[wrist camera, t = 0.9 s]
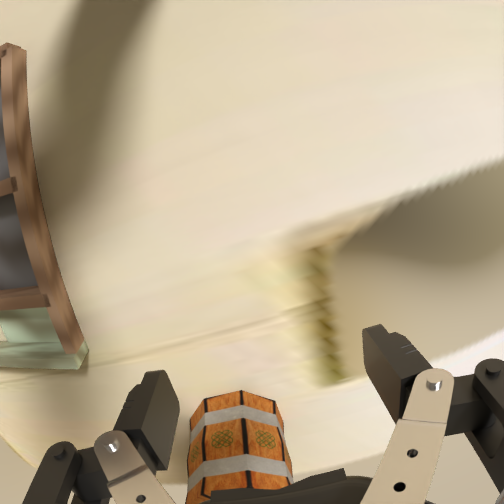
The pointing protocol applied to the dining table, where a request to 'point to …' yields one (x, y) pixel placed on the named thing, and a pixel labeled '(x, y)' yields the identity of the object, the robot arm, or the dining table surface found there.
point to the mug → (236, 446)
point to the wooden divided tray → (28, 244)
